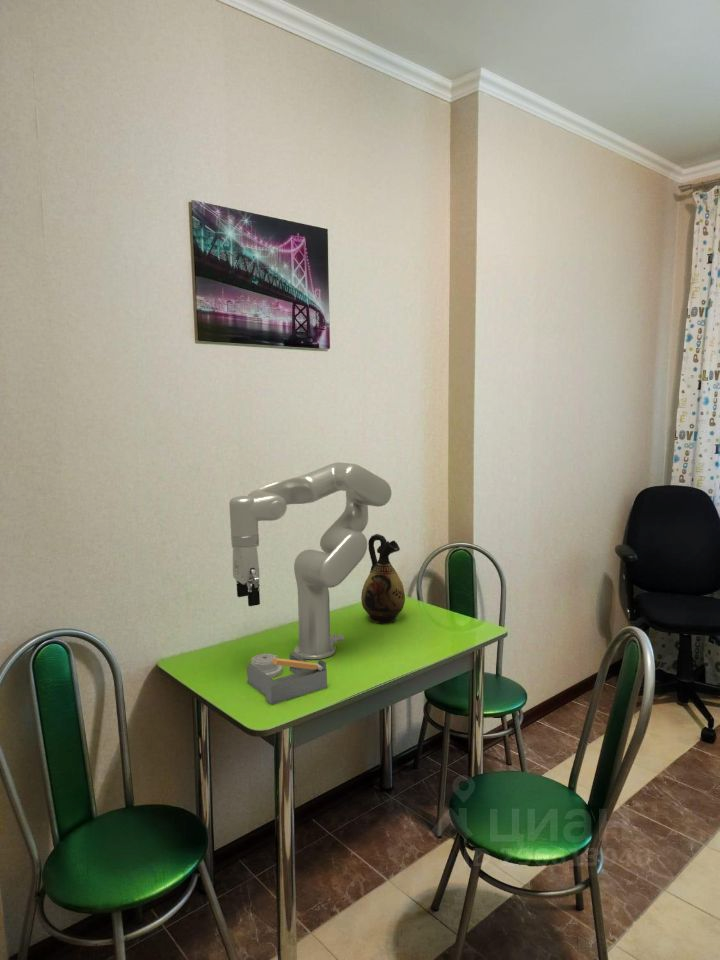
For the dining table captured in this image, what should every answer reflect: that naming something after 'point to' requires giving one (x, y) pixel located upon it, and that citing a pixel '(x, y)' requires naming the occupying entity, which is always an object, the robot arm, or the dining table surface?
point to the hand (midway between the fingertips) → (248, 600)
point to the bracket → (288, 681)
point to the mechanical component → (267, 664)
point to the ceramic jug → (382, 584)
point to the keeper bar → (296, 664)
